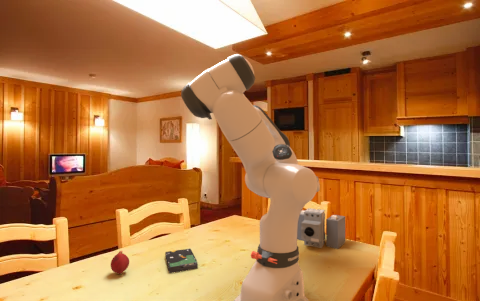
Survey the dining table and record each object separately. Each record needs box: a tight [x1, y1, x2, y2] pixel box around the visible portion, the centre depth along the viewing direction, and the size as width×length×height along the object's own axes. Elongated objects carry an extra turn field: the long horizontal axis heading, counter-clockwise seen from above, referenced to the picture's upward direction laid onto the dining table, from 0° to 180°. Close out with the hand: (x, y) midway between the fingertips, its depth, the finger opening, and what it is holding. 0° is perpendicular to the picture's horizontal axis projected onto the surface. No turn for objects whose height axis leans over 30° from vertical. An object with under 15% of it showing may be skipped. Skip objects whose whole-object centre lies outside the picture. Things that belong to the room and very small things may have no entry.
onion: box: [110, 250, 130, 275], centre depth 90 cm, size 6×6×8 cm
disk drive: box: [164, 248, 199, 274], centre depth 99 cm, size 10×3×15 cm
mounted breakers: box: [297, 209, 346, 250], centre depth 122 cm, size 10×20×13 cm, turn 51°
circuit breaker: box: [300, 207, 326, 249], centre depth 115 cm, size 8×14×15 cm, turn 151°
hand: (297, 195), depth 112 cm, fingers open, 8 cm apart
